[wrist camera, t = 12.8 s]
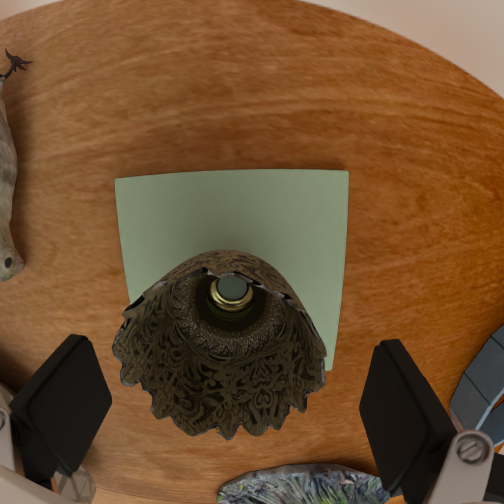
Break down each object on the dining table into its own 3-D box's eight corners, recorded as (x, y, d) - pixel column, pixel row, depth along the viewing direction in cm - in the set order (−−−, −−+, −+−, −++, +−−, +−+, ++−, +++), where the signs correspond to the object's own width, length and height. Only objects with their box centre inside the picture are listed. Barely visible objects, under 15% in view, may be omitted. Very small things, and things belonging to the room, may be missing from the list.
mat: (118, 178, 16) (113, 178, 15) (345, 170, 16) (349, 170, 15) (147, 364, 19) (145, 369, 19) (330, 365, 19) (331, 370, 19)
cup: (316, 311, 17) (352, 406, 10) (209, 356, 18) (188, 454, 11) (261, 197, 15) (269, 231, 8) (146, 257, 16) (75, 327, 9)
